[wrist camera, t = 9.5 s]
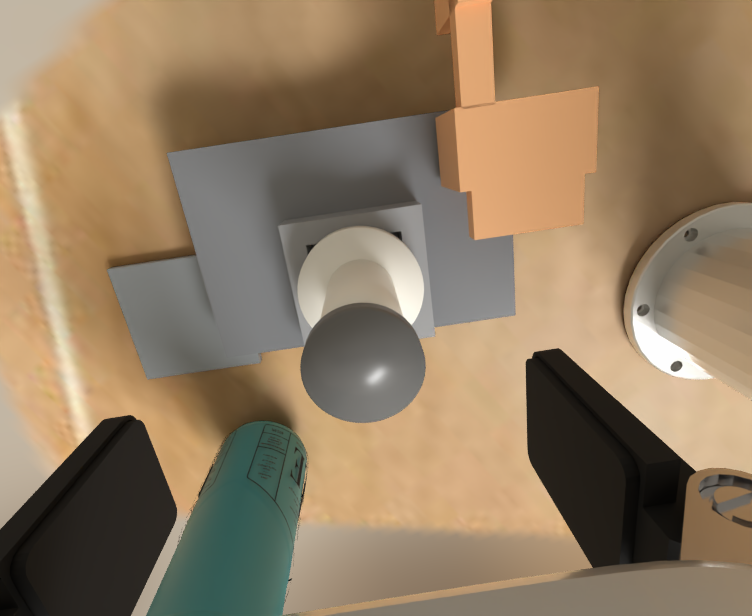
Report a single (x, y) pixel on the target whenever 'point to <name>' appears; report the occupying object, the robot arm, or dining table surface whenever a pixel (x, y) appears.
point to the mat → (171, 317)
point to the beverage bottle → (239, 529)
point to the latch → (510, 138)
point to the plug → (361, 324)
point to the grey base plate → (331, 225)
